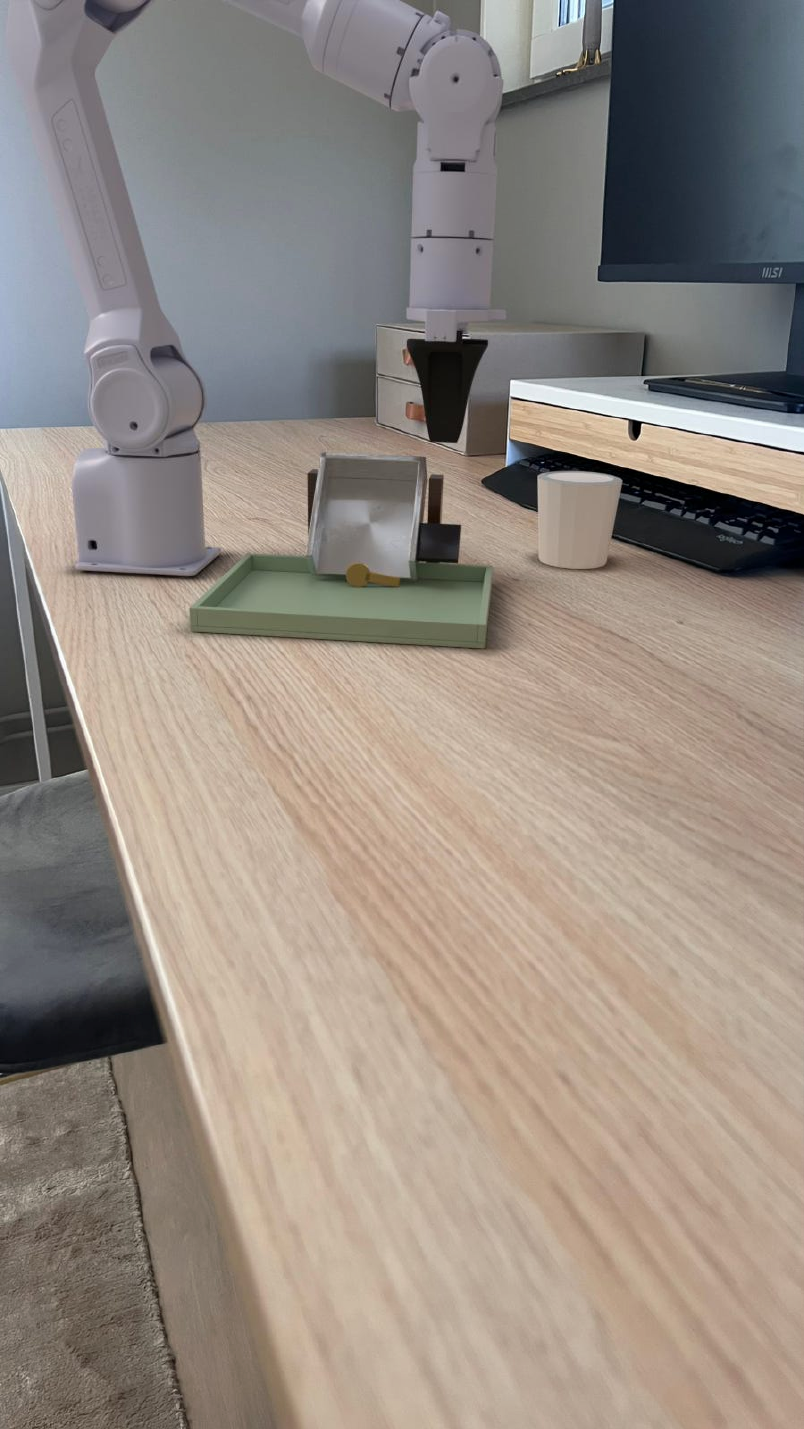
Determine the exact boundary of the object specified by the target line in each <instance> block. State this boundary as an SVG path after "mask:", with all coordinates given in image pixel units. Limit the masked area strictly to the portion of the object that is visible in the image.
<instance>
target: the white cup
mask: <svg viewBox="0 0 804 1429" xmlns="http://www.w3.org/2000/svg"><path fill="white" fill-rule="evenodd" d="M622 485H623V480H622V479H621V478H620V477H619V476H615V475H612V474H607V473H601V472H595V471H583V470H557V471H556V470H555V471H547V472H542V473H539V474H538V475H537V523H538V524H537V526H538V527H537V528H538V530H537V531H538V533H537V534H538V535H537V536H538V538H537V539H538V559H539V562H540V563H543V564H545V565H547V566H551V567H555V568H562V569H568V570H569V569H570V570H588V569H589V570H590V569H598V568H601V567H604V566H605V565H606V564H607V561H608V556H609V551H610V546H611V541H612V536H613V531H614V526H615V521H616V516H617V511H618V507H619V500H620V495H621V490H622Z"/></svg>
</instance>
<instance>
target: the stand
mask: <svg viewBox="0 0 804 1429" xmlns="http://www.w3.org/2000/svg"><path fill="white" fill-rule="evenodd" d="M317 474H318V468H312V469H311V470H310V471H308V472H307V536H308V535H309V528H310V521H311V515H312V508H313V501H314V495H315V488H316V481H317ZM444 476H445V475H444V474H437V473H436V474H434V473H431V474H430V476H429V478H428V487H427V490H428V491H427V492H428V494H427V517H426V518H427V519H426V520H427V521H426V523H437V524H443V502H444V480H445V479H444V478H445V477H444ZM426 563H441V562H426Z"/></svg>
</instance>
